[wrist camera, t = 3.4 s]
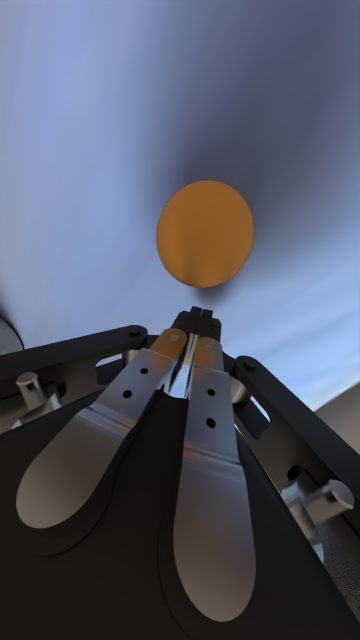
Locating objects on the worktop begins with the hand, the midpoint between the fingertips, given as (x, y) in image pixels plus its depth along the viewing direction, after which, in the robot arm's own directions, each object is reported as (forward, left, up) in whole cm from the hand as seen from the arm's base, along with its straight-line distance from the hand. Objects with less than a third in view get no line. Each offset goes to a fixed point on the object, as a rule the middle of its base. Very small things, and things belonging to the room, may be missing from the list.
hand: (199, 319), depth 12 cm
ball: (+2, +5, +1) cm, 5 cm away
